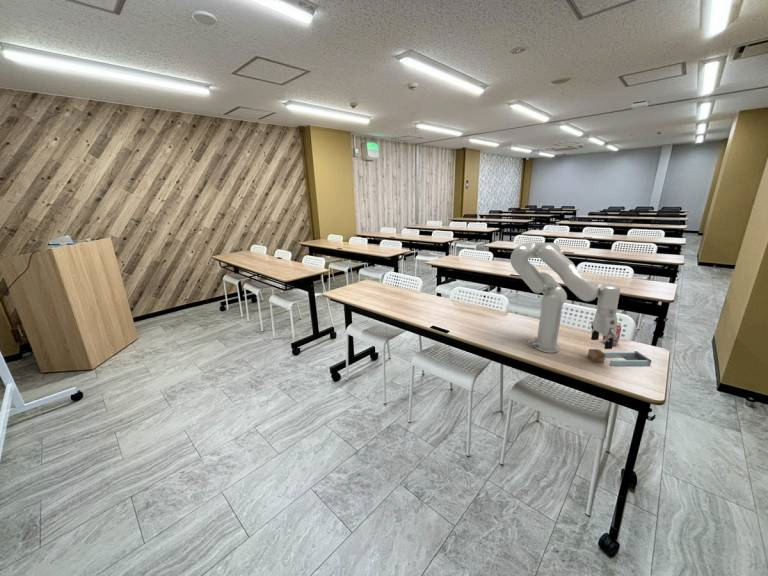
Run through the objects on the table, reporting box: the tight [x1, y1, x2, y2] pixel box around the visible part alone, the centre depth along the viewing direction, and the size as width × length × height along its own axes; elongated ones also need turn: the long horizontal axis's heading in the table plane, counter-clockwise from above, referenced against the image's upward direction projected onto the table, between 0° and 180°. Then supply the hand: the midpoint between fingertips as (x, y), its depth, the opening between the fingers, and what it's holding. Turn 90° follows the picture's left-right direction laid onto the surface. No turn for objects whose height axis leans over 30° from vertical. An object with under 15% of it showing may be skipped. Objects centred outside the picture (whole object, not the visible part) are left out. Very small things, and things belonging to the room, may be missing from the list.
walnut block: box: [586, 348, 606, 364], centre depth 147 cm, size 5×5×5 cm
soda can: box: [602, 321, 622, 346], centre depth 163 cm, size 7×7×12 cm
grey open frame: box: [602, 350, 652, 367], centre depth 146 cm, size 18×9×3 cm, turn 88°
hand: (601, 344), depth 144 cm, fingers open, 9 cm apart
